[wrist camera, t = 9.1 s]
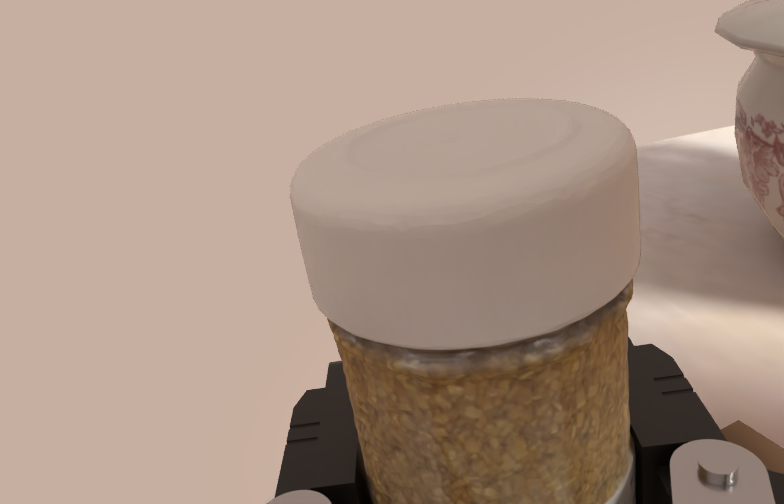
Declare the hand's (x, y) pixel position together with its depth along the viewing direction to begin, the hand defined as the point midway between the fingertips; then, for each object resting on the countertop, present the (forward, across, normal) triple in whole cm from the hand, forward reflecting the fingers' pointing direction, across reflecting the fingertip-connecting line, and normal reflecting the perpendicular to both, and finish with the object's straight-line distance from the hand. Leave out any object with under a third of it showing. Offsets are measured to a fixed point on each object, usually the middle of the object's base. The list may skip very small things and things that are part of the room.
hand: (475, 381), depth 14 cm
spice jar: (-3, 0, +8) cm, 8 cm away
